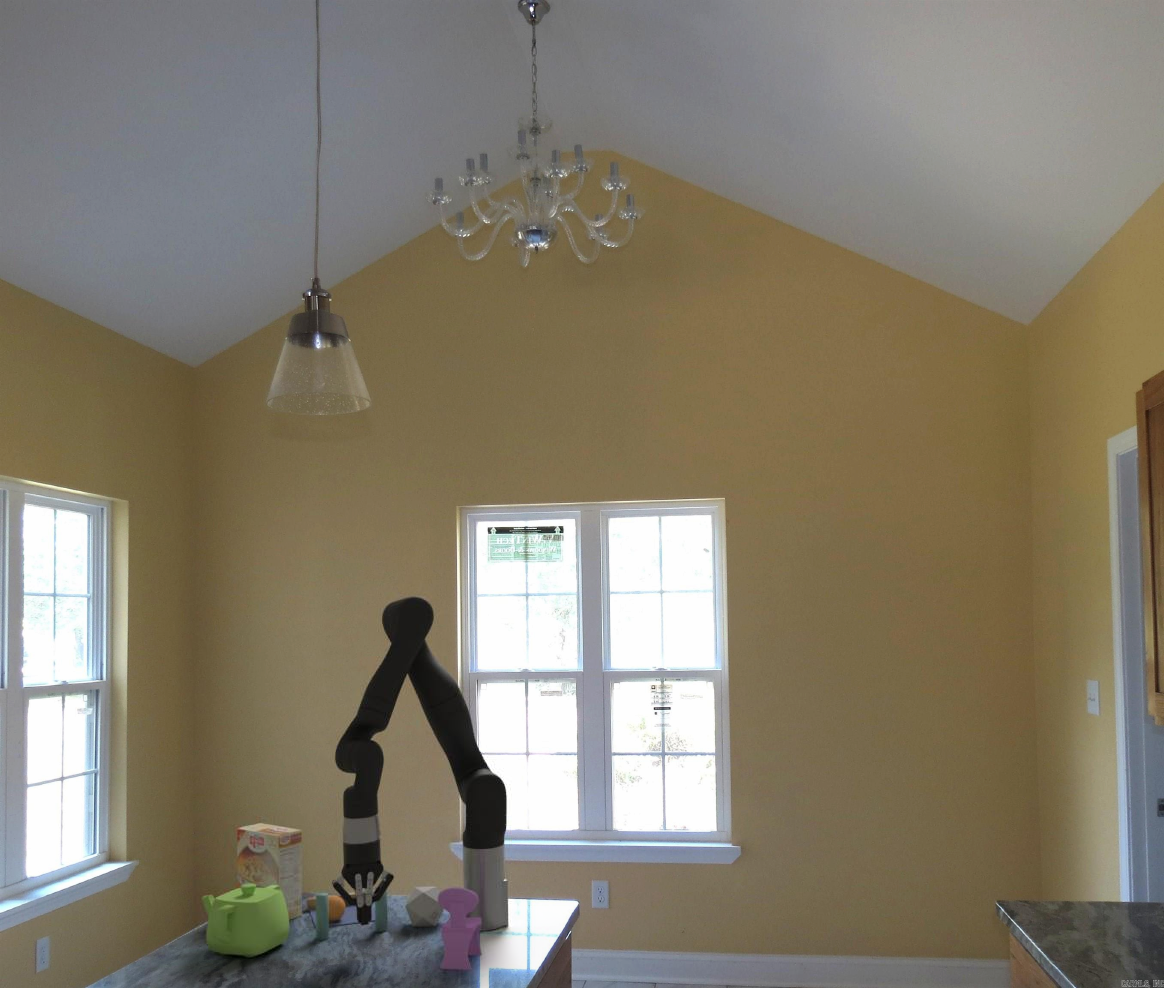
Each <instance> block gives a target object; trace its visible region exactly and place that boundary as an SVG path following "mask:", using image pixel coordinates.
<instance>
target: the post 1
mask: <svg viewBox="0 0 1164 988" xmlns="http://www.w3.org/2000/svg"><path fill="white" fill-rule="evenodd" d="M329 895H330V894H329V893H328V892H321V893H317V894H316V895H315V897H316V928H315V939H316V940H317V941H324V940H327V939H330V938H329V937H330V936H329V935H330V934H329V932H330V930H329V928H330V927H329Z"/></svg>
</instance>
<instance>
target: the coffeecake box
mask: <svg viewBox="0 0 1164 988" xmlns="http://www.w3.org/2000/svg"><path fill="white" fill-rule="evenodd" d="M302 831H303V830H302V829H298V828H292V827H286V826H282V825H281V826H280V825H274V824H268V823H262V822H260V823H254V824H250V825H244V826H242V827H237V845H236V847H237V849H236V850H237V851H236V852H237V857H236V859H237V861H236V862H237V864H236V874H237V876H236V877H237V880H236V882H237V883H236V885H237V886H236V889H237V888H241V886H242V885H244V884H251V883H252V884H256V888H266V887H268V886H270V885H279V886H280V891H282V893H283V896H284V899H285V903H286V906H287V911H288V917H289V921H290V920H294V919H296V918H298V917H299V918H300V917H302V913H303V911H302V909H303V908H302V898H303V893H302V891H303V890H302V883H303V882H302V880H303V879H302V874H303V873H302V867H303V866H302V859H303V858H302V855H303V853H302V847H303V846H302V840H303V839H302V838H303V837H302V836H303V835H302Z"/></svg>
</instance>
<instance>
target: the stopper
mask: <svg viewBox="0 0 1164 988" xmlns="http://www.w3.org/2000/svg"><path fill="white" fill-rule="evenodd" d="M362 892H363V903H364V890H362ZM348 893H349V895H350V896H351V897H354V898H355V893H354V891H352V892H348ZM329 896H338V897H340V898H342V899H343V901H344V903H345V906H346V905H349V904H348V903H347V902H346V901H345V900H344V898H343V897H342V896H341V895H340V894H339V893H335V894H329ZM314 909H316V896H311V897H306V911H307V912H310V910H314Z"/></svg>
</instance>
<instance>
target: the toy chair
mask: <svg viewBox="0 0 1164 988" xmlns="http://www.w3.org/2000/svg"><path fill="white" fill-rule="evenodd" d="M439 892H440V893H439V895H438V903H439V904H440V906H441V907H443V908H444V910H446V912H448V913H449V915H450V917H449V919H448V920H447V921H446V922H445V923H444V924H443V925H442V926H441V934H440V936H441V940H442V943H443V946H444V954H443V958H442V962H441V964H440V966H439V969H442V970H444V969H445V970H464V971H465V970H466V971H468V970H472V966H471V964H470V960H469V956H483V952H482V949H481V945H480V940H479V939H480V936H479V935H480V929H481V926H482V922H481V917H472V918H466V915H467V914H468V913H470V912H471V911H473V910H474V908H475V907H476V906H477V904H478V901H479V898H478V895H477V894H476V893H475V892H473V891H471V890H469V889H466V888H463V887H461V886H460V887H459V886H458V887H456V886H454V887H451V886H450V887H447V888H445V889H443V890H442V891H439Z"/></svg>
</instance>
